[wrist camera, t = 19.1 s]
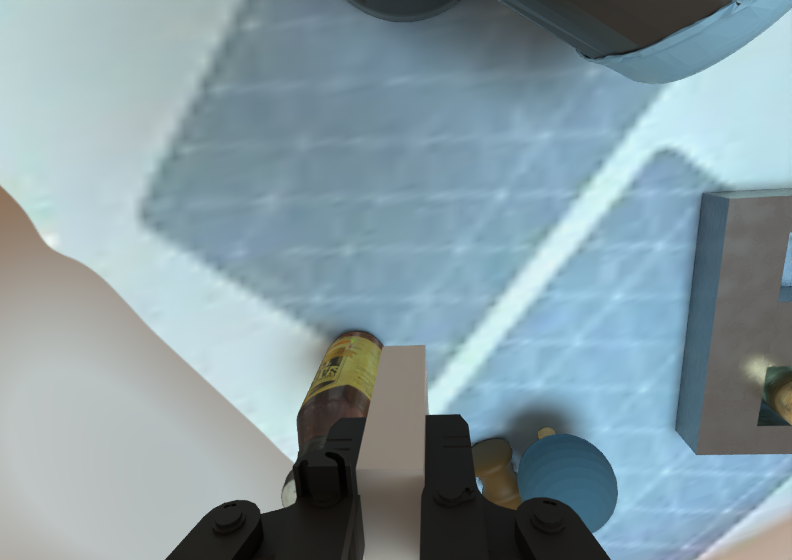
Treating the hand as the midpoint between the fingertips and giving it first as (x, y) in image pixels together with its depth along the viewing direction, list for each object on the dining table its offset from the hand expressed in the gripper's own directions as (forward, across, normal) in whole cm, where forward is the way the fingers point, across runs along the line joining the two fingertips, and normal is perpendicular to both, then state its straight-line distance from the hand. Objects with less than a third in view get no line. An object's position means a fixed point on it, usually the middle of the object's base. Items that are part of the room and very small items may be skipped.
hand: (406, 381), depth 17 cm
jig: (+29, +33, -10) cm, 45 cm away
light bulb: (+30, +12, -22) cm, 39 cm away
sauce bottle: (+30, -7, -13) cm, 33 cm away
